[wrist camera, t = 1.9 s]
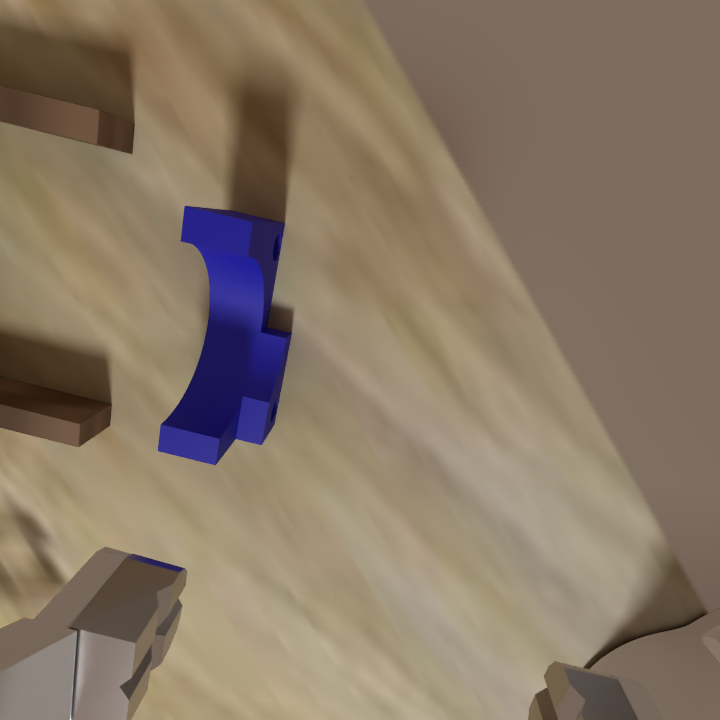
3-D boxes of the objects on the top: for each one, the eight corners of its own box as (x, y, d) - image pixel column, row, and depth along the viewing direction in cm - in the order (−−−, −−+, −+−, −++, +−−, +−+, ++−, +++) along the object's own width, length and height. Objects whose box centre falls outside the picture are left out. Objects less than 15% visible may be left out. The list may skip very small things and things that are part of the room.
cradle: (134, 124, 24) (99, 109, 21) (109, 425, 29) (78, 447, 26) (-39, 81, 24) (-98, 61, 21) (-33, 389, 29) (-80, 407, 27)
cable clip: (275, 423, 29) (244, 472, 23) (205, 406, 29) (157, 450, 23) (311, 229, 25) (286, 230, 19) (233, 210, 25) (184, 206, 20)
